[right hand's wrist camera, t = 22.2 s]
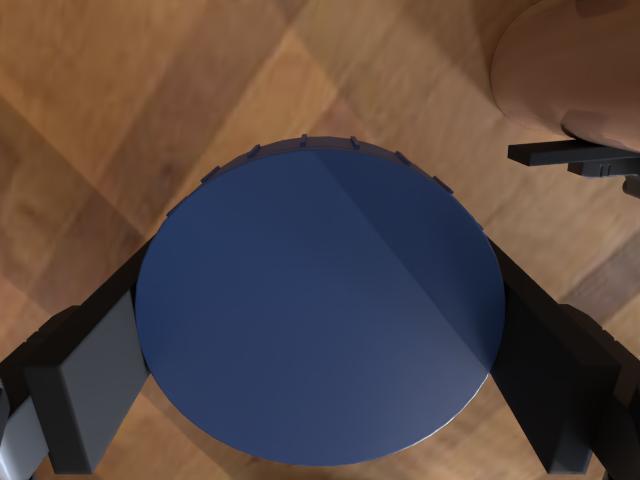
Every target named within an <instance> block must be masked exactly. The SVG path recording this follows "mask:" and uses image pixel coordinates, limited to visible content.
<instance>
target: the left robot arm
mask: <svg viewBox="0 0 640 480" xmlns="http://www.w3.org/2000/svg"><path fill="white" fill-rule="evenodd" d="M507 158H509V159H512V160H514V161H517V162H519V163H522V164H524V165H527V166H539V165H551V164H563V163H568V169H567V171H569V172H572V173H575V174H578V175H581V176H584V177H587V178H599V177H601V178H602V177H614V176H625V177H626V180H625V182H624V183H623V187H622V188H623V191H624V192H625V193H626V194H628V195H631V196H633V197H636V198H639V199H640V153H636V152H631V151H627V150H622V149H618V148H613V147H609V146H604V145H600V144H595V143H591V142H586V141H582V140H577V139H576V140H564V141H553V142H541V143H529V144H518V145H508V157H507Z"/></svg>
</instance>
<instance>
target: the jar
mask: <svg viewBox="0 0 640 480" xmlns="http://www.w3.org/2000/svg"><path fill="white" fill-rule="evenodd" d="M490 80H491V88H492V93H493V96H494V99H495V101H496V103H497V105H498V107H499V109H500V110H501V111H502V112H503V114H504V115H505V116H506V117H507V118H508V119H510V120H511V121H512V122H514V123H515V124H518V125H520V126H522V127H525V128H528V129H533V130H537V131H542V132H546V133H551V134H555V135H559V136H564V137H568V138H573V139H577V140H582V141H586V142H591V143H595V144H600V145H604V146H609V147H613V148H618V149H622V150H627V151H631V152H636V153H640V0H542V1H540V2H537V3H535V4H534V5H532V6H530V7H529V8H527V9H526V10H525V11H523V12H522V13H521V14H520V15H519V16H517V17H516V18H515V19H514V20H513V22H512V23H511V24H510V25H509V26H508V28H507V29H506V30H505V32H504V33H503V35H502V37H501V39H500V40H499V42H498V44H497V47H496V49H495V52H494V55H493V59H492V64H491V74H490Z"/></svg>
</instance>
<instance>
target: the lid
mask: <svg viewBox="0 0 640 480" xmlns="http://www.w3.org/2000/svg"><path fill="white" fill-rule="evenodd" d="M201 182H202V184H201V185H200V186H199V187H198V188H196V189H195V190H194V191H193V192H192V193H191V194H190V195H189V196H186V197H185V198H184V199H183V200H182V201H181V202H180V203H178V204H177V205H176V206H175V207H174V208H173V209H172V210H171V211H169V212H168V214H167V215H166V216H167V219H166V220H165V221H164V222H163V224H162V225H161V227H160V228H159V230H158V232H157V233H156V235H155V236H154V238H153V239H152V241H151V243H150V245H149V248H148V250H147V252H146V254H145V257H144V259H143V261H142V264H141V268H140V272H139V276H138V280H137V284H136V295H135V321H136V327H137V332H138V337H139V342H140V347H141V350H142V353H143V356H144V358H145V361H146V363H147V366H148V368H149V370H150V372H151V373H152V375H153V377H154V379H155V381H156V382H157V384H158V386H159V387H160V388H161V390H162V391H163V392H164V394H165V395H166V396H167V398H168V399H169V400H170V401H171V403H172V404H173V405H174V406H175V407H176V408H177V409H178V410H179V411H180V412H181V413H182V414H183V415H184V416H185V417H186V418H188V419H189V420H190V421H191V422H192V423H194V424H195V425H196V426H197V427H198V428H200V429H201V430H203V431H204V432H206V433H207V434H209V435H211V436H212V437H214V438H215V439H217V440H219V441H221V442H223V443H225V444H227V445H229V446H231V447H232V448H235V449H237V450H240V451H242V452H245V453H247V454H250V455H253V456H256V457H260V458H263V459H267V460H270V461H275V462H281V463H286V464H292V465H304V466H338V465H347V464H355V463H360V462H365V461H370V460H374V459H377V458H381V457H384V456H387V455H390V454H393V453H396V452H398V451H401V450H403V449H405V448H408V447H410V446H412V445H414V444H416V443H418V442H419V441H421V440H423V439H425V438H427V437H429V436H430V435H432V434H433V433H434V432H436V431H437V430H439V429H440V428H442V427H443V426H444V425H446V424H447V423H448V422H449V421H450V420H452V419H453V418H454V417H455V416H456V415H457V414H458V413H459V412H461V411H462V409H463V408H464V407H465V406H466V405H467V404H468V403H469V402H470V400H471V399H472V398H473V397H474V396H475V395H476V393H477V392H478V390H479V389H480V387H481V386H482V384H483V383H484V381H485V380H486V378H487V376H488V374H489V372H490V370H491V368H492V366H493V364H494V362H495V360H496V357H497V354H498V351H499V348H500V343H501V339H502V333H503V328H504V323H505V305H506V299H505V292H504V284H503V278H502V274H501V271H500V268H499V264H498V261H497V258H496V255H495V253H494V251H493V249H492V247H491V245H490V243H489V241H488V239H487V237H486V235H485V234H484V232H483V231H482V230H483V228H482V227H481V226H480V225H479V224H478V223H477V222H476V221H475V219H474V218H473V217H472V215H471V214H470V213H469V212H468V211H467V210H466V209H465V208H464V207H463V206H462V205H461V204H460V203H459V202H458V201H457V200H456V199H455V198H454V197H453V196H452V194H453V193H454V192H453V191H452V190H451V189H450V188H448V187H447V186H446V185H445V184H444V183H443V182H441V181H440V180H439V179H438V178H437V177H436V176H434V177H433V178H432V177H430V176H429V175H428V174H427V173H425V172H424V171H423V170H422V169H420V168H419V167H418V166H416V165H415V164H413V163H412V162H410V161H409V160H408V159H407V158H406V157H405V156H404V155H402V154H401V153H400V152H399V151H396V153H393V152H391V151H388V150H386V149H384V148H381V147H379V146H376V145H373V144H369V143H365V142H361V141H357V139H356V138H355V137H353V136H351V139H346V138H338V137H329V136H328V137H307V134H303V135H302V137H301V138H295V139H288V140H282V141H278V142H275V143H272V144H268V145H265V146H260V144H258V145H256V146H255V147H254V148H253V149H252V150H251V151H250V152H247V153H245V154H243V155H241V156H239V157H237V158H235V159H234V160H232V161H231V162H229V163H227V164H226V165H224V166H223V167H221V168H220V167H219V166H217V167H216V168H214V169H213V170H212V171H211V172H210V173H209V174H207V175H206V176H205V177H204V178H203V179H202V180H201Z"/></svg>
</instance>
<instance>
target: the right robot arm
mask: <svg viewBox="0 0 640 480" xmlns="http://www.w3.org/2000/svg"><path fill="white" fill-rule="evenodd" d="M155 235H156V234H155ZM155 235H154V236H155ZM154 236H153V237H152V238H151V239H150V240H149V241H148V242H147V243H146V244H145V245H144V246H143V247H141V248H140V249H139V250H138V251H137V252H136V253H135V254H134V255H133V256H132V257H131V258H130V259H129V260H128V261H127V262H126V263H125V264H124V265H123V266H121V267H120V268H119V269H118V270H117V271H116V272H115V273H114V274H113V275H112V276H111V277H110V278H109V279H108V280H107V281H106V282H105V283H104V284H102V285H101V286H100V287H99V288H98V289H97V290H96V291H95V292H94V293H93V294H92V295H91V296H90V297H89V298H88V299H87V300H86V301H85V302H84V303H82V304H81V305H80V306H71V307H69V308H67V309H65V310H63V311H62V312H60V313H58V314H56V315H54V316H52V317H51V318H50V319H49V320H48V321H47V322H46V323H45V324H43V325H42V326H41V327H40V328H39V330H38V331H36V332H34V333H33V334H32V335H31V336H30V337H29V338H28V339H27V342H23V343H22V344H21V345H20V346H19V347H18V348H17V349H15V350H14V351H13V352H12V353H11V354H10V355H9V356H8V357H6V358H5V359H4V360H3V361H2V362H1V363H0V480H38V478H37V476H36V473H35V470H36V469H37V467H38V466H39V465H40V463H41V462H42V461H43V459H44V458H45V456H46V455H47V454H48V455H49V458H50V461H51V464H52V467H53V470H54V473H55V474H93V472H94V470H95V468H96V467H97V465H98V463H99V461H100V460H101V458H102V456H103V455H104V453H105V451H106V449H107V448H108V446H109V444H110V442H111V441H112V439H113V437H114V435H115V434H116V432H117V430H118V428H119V427H120V425H121V423H122V421H123V420H124V418H125V416H126V415H127V413H128V411H129V409H130V408H131V406H132V404H133V402H134V401H135V399H136V397H137V395H138V394H139V392H140V390H141V388H142V387H143V385H144V383H145V381H146V380H147V378H148V376H149V375H150V373H151V372H150V370H149V368H148V366H147V363H146V361H145V358H144V356H143V353H142V350H141V347H140V342H139V337H138V332H137V327H136V321H135V295H136V284H137V280H138V276H139V272H140V268H141V264H142V261H143V259H144V257H145V254H146V252H147V250H148V248H149V245H150V243H151V241H152V239H153V238H154ZM486 237H487V236H486ZM487 239H488V241H489V243H490V245H491V247H492V249H493V251H494V253H495V255H496V258H497V261H498V264H499V268H500V271H501V274H502V278H503V284H504V292H505V299H506V305H505V323H504V328H503V333H502V339H501V343H500V348H499V351H498V354H497V357H496V360H495V362H494V364H493V366H492V368H491V370H490V374H491V376H492V378H493V379H494V381H495V383H496V385H497V386H498V388H499V390H500V391H501V393H502V395H503V397H504V398H505V400H506V402H507V404H508V405H509V407H510V409H511V411H512V412H513V414H514V416H515V418H516V419H517V421H518V423H519V425H520V426H521V428H522V430H523V431H524V433H525V435H526V437H527V438H528V440H529V442H530V444H531V445H532V447H533V449H534V451H535V452H536V454H537V456H538V458H539V459H540V461H541V463H542V465H543V466H544V468H545V470H546V471H547V473H548V474H586V471H587V468H588V465H589V462H590V459H591V456H592V453H593V452H594V454H595V455H596V457H597V458H598V459H599V461H600V462H601V463H602V465H603V466H604V468H605V469H606V470H605V473H604V476H603V478H602V480H640V360H638V359H637V358H636V357H635V356H634V355H633V354H632V353H631V352H629V351H628V350H627V349H626V348H625V347H624V346H623V345H622V344H620V343H619V342H618V341H615V340H614V337H612V336H611V335H610V334H609V333H608V332H607V331H606V330H602V327H601V326H600V325H599V324H598V323H597V322H596V321H594V320H593V319H592V318H591V317H590V316H589V315H587V314H585V313H584V312H582V311H580V310H578V309H576V308H574V307H572V306H570V305H569V304H558V303H557V302H556V301H555V300H554V299H553V298H551V297H550V296H549V295H548V294H547V293H546V292H545V291H544V290H543V289H542V288H541V287H540V286H539V285H538V284H537V283H536V282H535V281H534V280H533V279H531V278H530V277H529V276H528V275H527V274H526V273H525V272H524V271H523V270H522V269H521V268H520V267H519V266H518V265H517V264H516V263H515V262H514V261H513V260H511V259H510V258H509V257H508V256H507V255H506V254H505V253H504V252H503V251H502V250H501V249H500V248H499V247H498V246H497V245H496V244H495V243H494V242H492V241H491V240H490V239H489V238H488V237H487Z"/></svg>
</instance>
